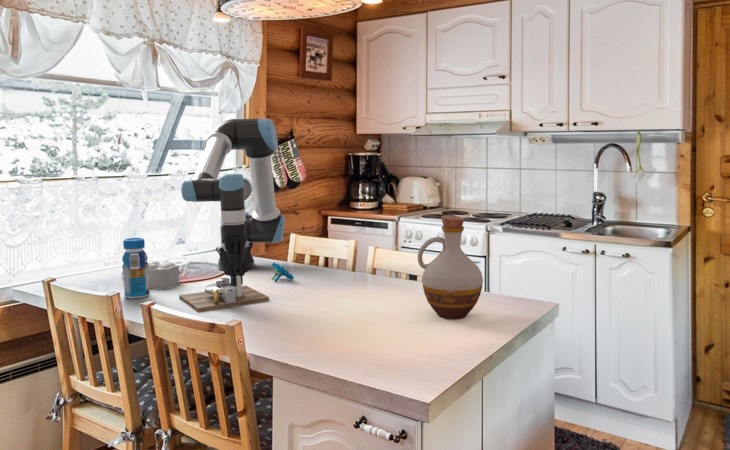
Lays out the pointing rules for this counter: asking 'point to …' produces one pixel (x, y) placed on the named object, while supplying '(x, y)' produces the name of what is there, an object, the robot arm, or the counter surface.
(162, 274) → the lumpy-topped squat cylinder
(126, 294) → the beverage bottle
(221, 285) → the grey bracket
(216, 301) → the dowel pin
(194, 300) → the base board
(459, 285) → the jug
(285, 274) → the blue t-shaped piece
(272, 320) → the counter surface
